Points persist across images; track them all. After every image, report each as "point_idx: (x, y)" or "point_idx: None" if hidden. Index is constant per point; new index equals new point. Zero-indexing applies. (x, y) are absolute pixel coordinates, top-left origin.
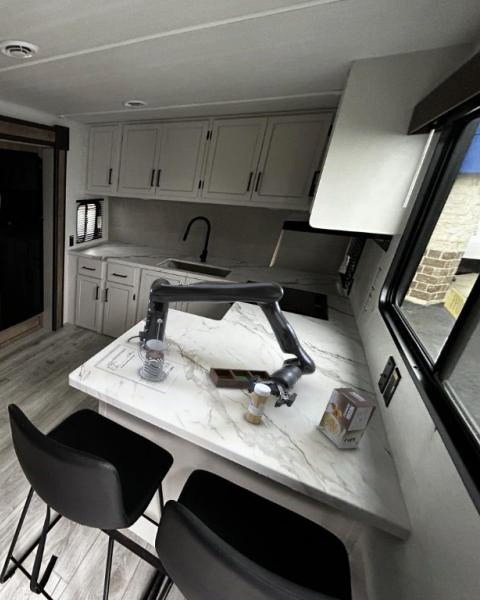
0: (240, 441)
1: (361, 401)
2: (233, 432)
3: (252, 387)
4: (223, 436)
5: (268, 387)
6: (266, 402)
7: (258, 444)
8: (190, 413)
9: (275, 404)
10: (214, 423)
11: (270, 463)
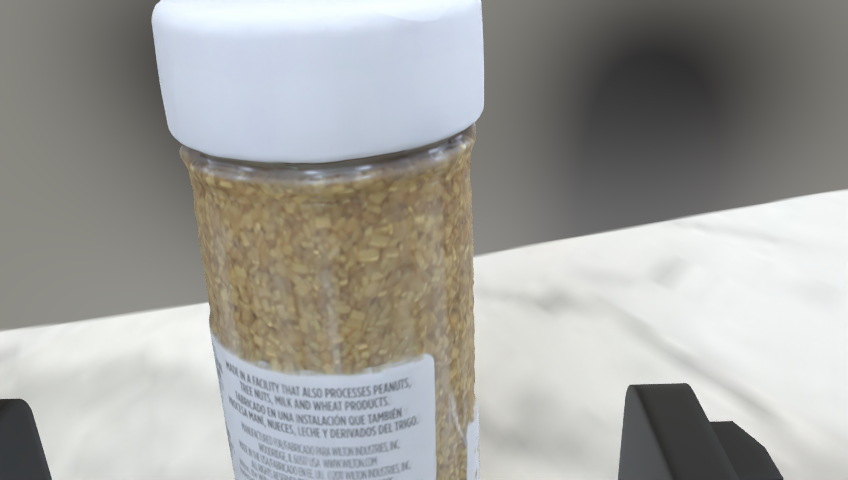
0: None
1: None
2: None
3: (676, 432)
4: None
5: (217, 6)
6: (210, 315)
7: (201, 392)
8: (777, 293)
9: (27, 439)
10: (590, 332)
11: (89, 326)
